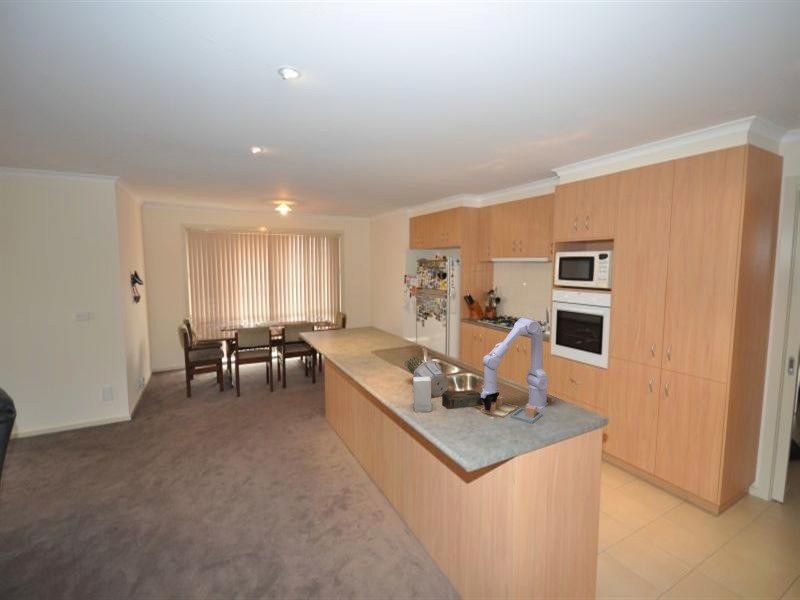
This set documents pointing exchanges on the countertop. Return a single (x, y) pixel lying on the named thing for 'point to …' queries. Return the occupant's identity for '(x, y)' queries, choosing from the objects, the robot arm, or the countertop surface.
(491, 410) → the chunk
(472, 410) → the countertop surface
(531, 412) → the chunk
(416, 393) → the skincare box
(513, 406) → the birch tray
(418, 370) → the potted plant
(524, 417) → the slate dish
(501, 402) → the chunk
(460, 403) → the beverage carton
